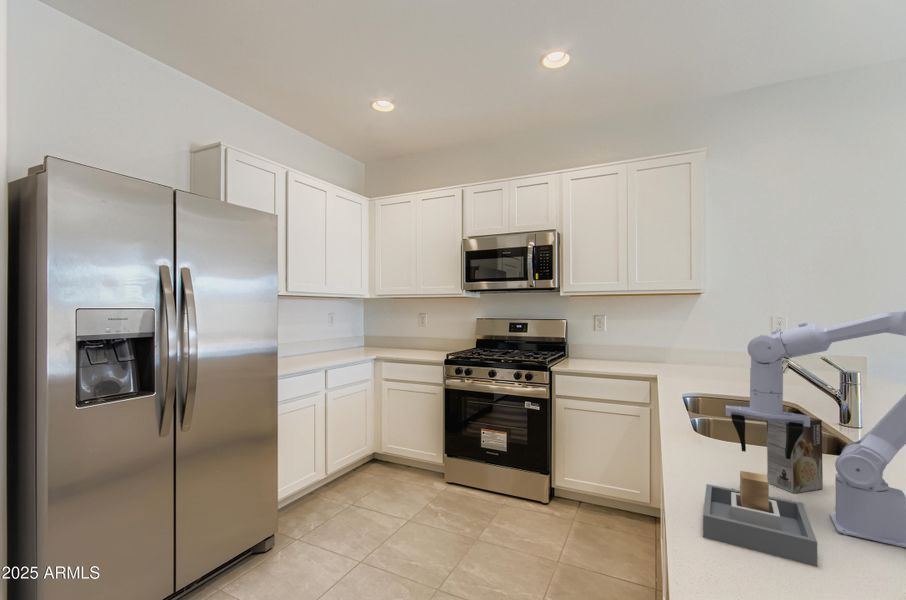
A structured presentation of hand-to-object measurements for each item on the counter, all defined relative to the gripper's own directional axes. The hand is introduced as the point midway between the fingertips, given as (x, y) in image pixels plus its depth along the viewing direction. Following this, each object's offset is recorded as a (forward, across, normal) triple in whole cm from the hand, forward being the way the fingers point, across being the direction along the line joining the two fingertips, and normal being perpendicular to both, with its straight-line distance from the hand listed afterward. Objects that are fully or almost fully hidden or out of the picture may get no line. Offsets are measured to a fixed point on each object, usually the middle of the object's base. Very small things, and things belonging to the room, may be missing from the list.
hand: (765, 453), depth 91 cm
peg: (+9, +2, +15) cm, 18 cm away
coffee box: (+11, -6, -14) cm, 19 cm away
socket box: (+10, +2, +15) cm, 19 cm away
